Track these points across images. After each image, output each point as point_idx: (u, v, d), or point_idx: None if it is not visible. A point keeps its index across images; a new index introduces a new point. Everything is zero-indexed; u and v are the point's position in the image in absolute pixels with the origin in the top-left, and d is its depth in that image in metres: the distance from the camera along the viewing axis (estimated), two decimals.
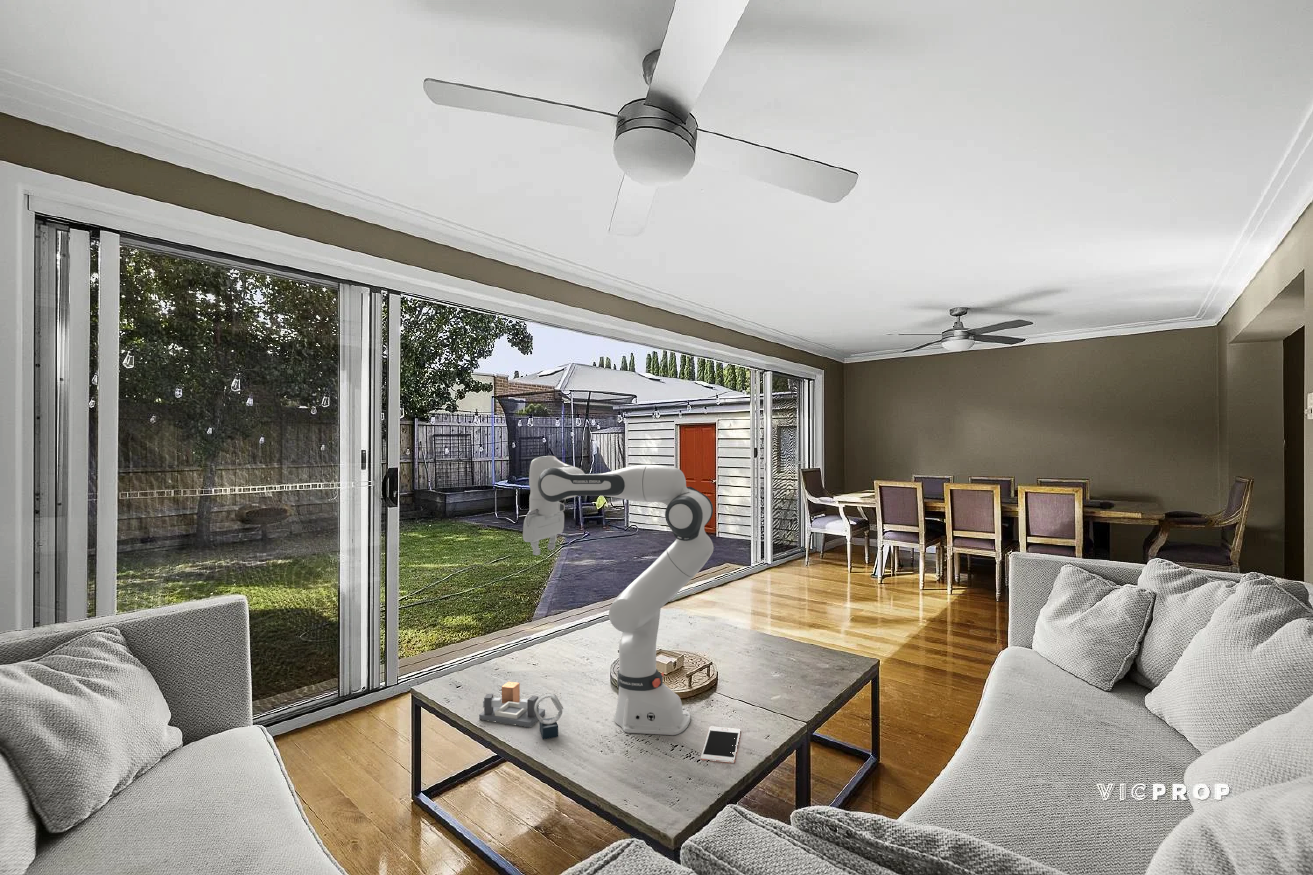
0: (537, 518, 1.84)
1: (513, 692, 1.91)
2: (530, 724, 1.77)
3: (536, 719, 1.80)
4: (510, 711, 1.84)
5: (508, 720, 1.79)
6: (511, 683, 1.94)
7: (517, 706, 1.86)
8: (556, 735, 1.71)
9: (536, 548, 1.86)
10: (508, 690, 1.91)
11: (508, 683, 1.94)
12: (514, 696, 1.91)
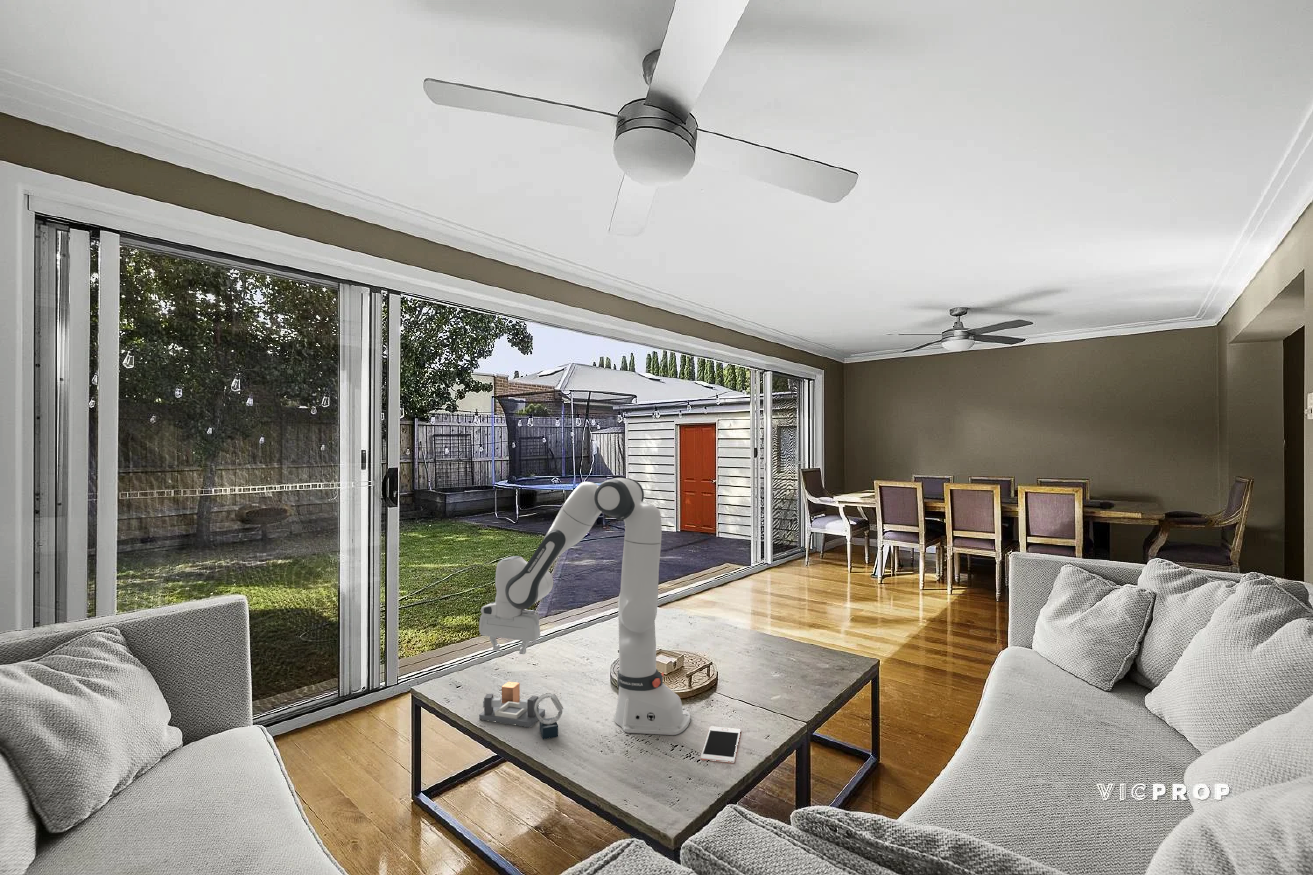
0: None
1: (513, 692, 1.91)
2: (530, 724, 1.77)
3: (536, 719, 1.80)
4: (510, 711, 1.84)
5: (508, 720, 1.79)
6: (511, 683, 1.94)
7: (517, 706, 1.86)
8: (556, 735, 1.71)
9: (526, 646, 1.92)
10: (508, 690, 1.91)
11: (508, 683, 1.94)
12: (514, 696, 1.91)
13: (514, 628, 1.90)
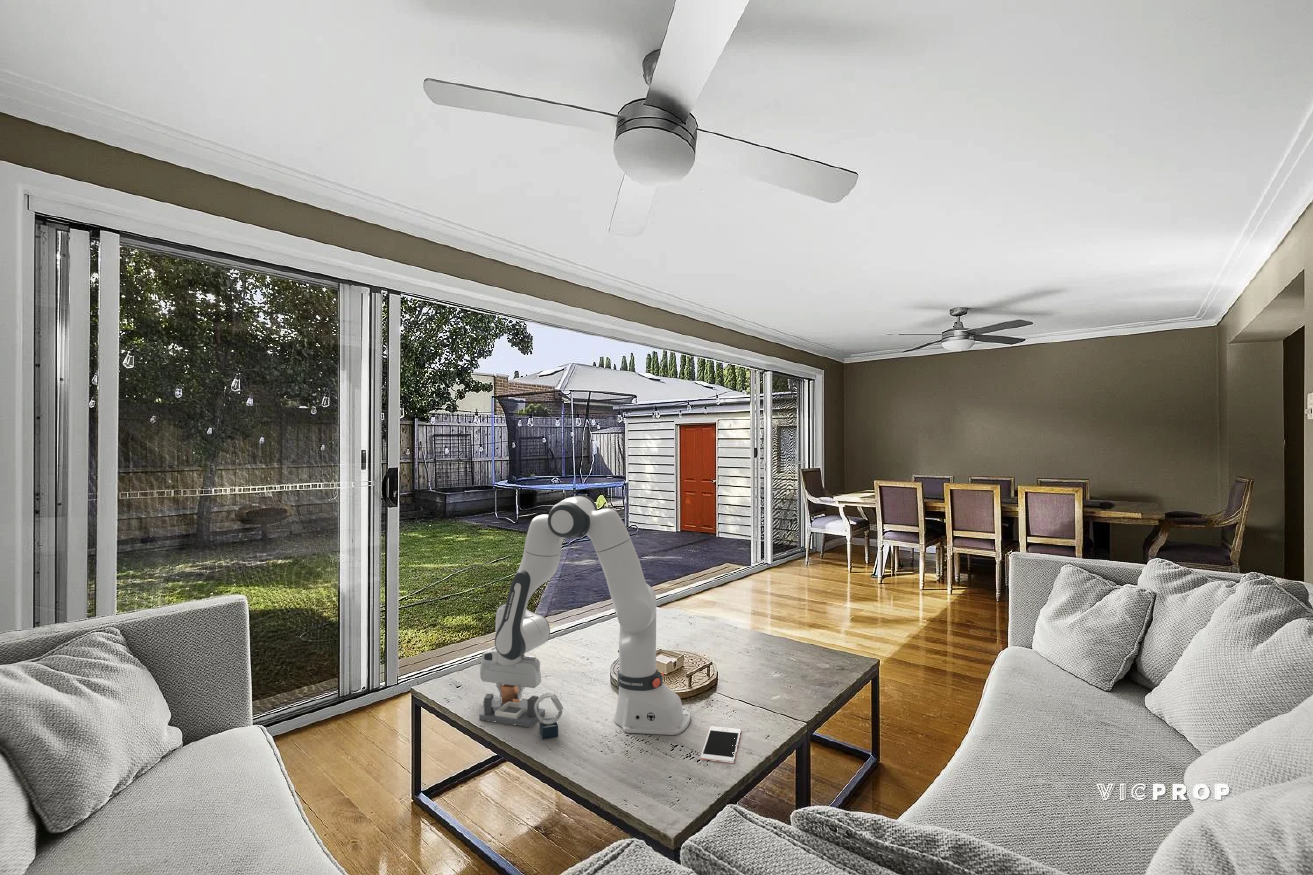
0: None
1: (513, 692, 1.91)
2: (530, 724, 1.77)
3: (536, 719, 1.80)
4: (510, 711, 1.84)
5: (508, 720, 1.79)
6: None
7: (517, 706, 1.86)
8: (556, 735, 1.71)
9: (521, 691, 1.92)
10: (508, 689, 1.91)
11: None
12: (514, 696, 1.91)
13: (514, 674, 1.90)
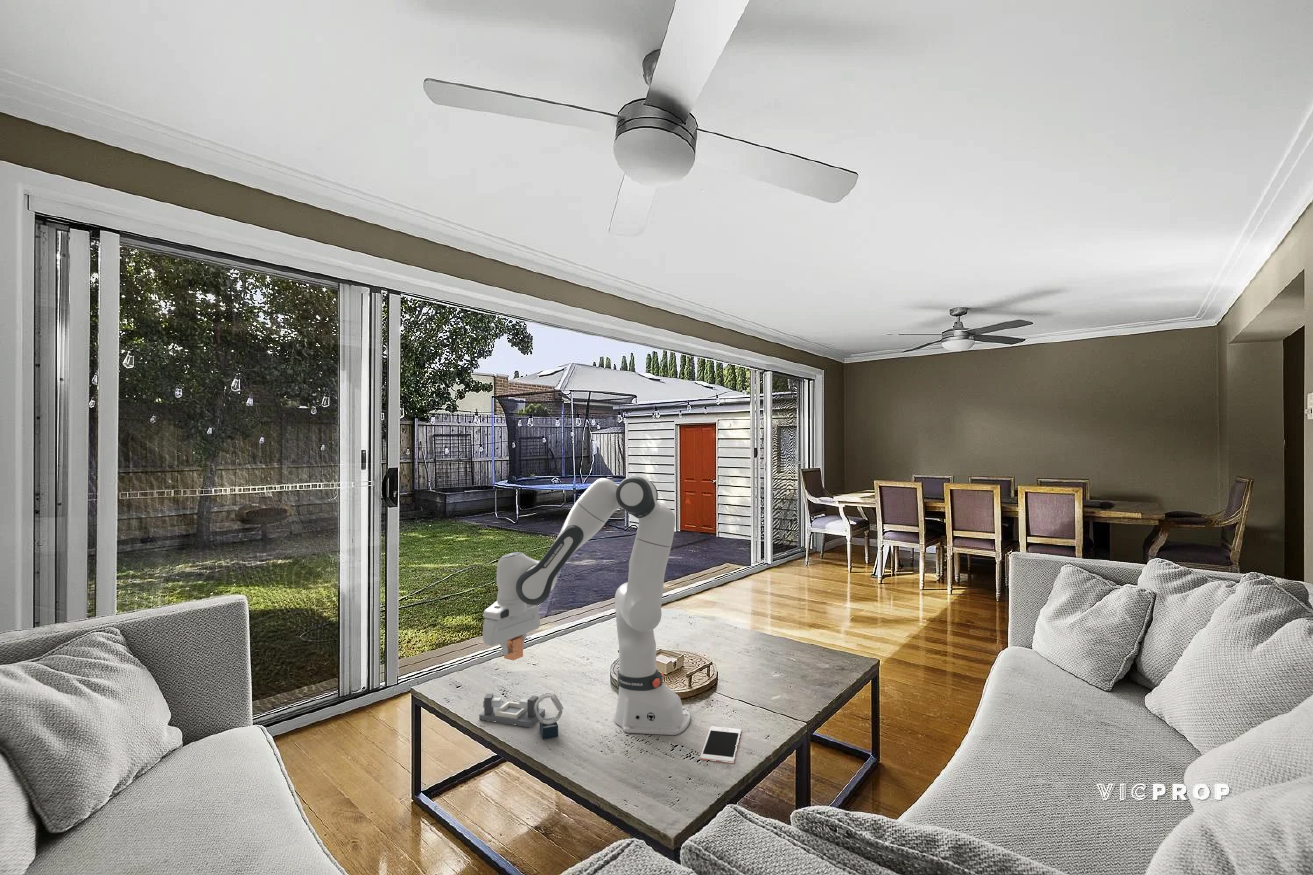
0: None
1: None
2: (530, 724, 1.77)
3: (536, 719, 1.80)
4: (510, 711, 1.84)
5: (508, 720, 1.79)
6: None
7: (517, 706, 1.86)
8: (556, 735, 1.71)
9: None
10: (519, 640, 1.86)
11: None
12: None
13: (523, 622, 1.88)
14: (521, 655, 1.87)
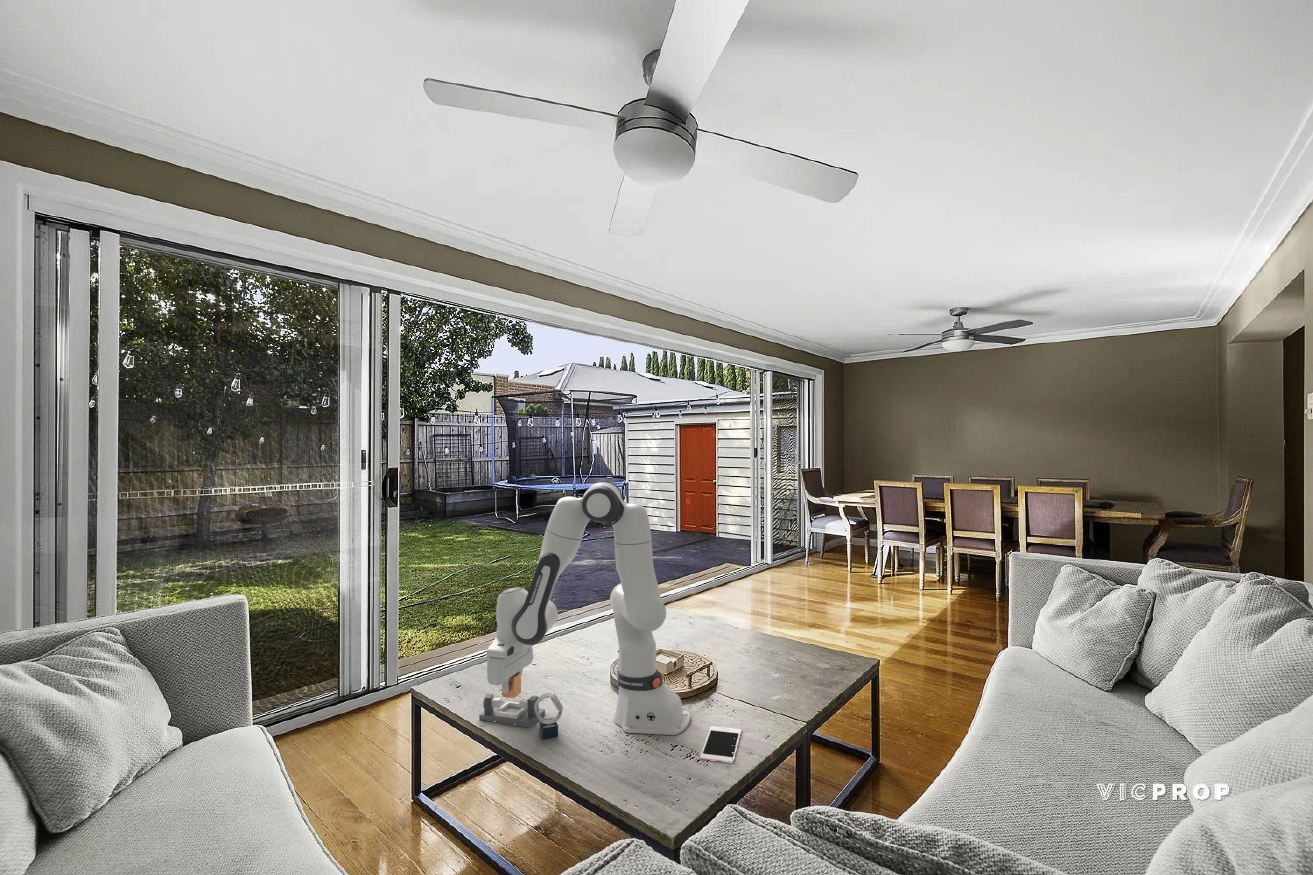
0: None
1: None
2: (530, 724, 1.77)
3: (536, 719, 1.80)
4: (510, 711, 1.84)
5: (508, 720, 1.79)
6: None
7: (517, 706, 1.86)
8: (556, 735, 1.71)
9: None
10: (518, 677, 1.83)
11: None
12: None
13: (521, 658, 1.85)
14: (519, 691, 1.84)
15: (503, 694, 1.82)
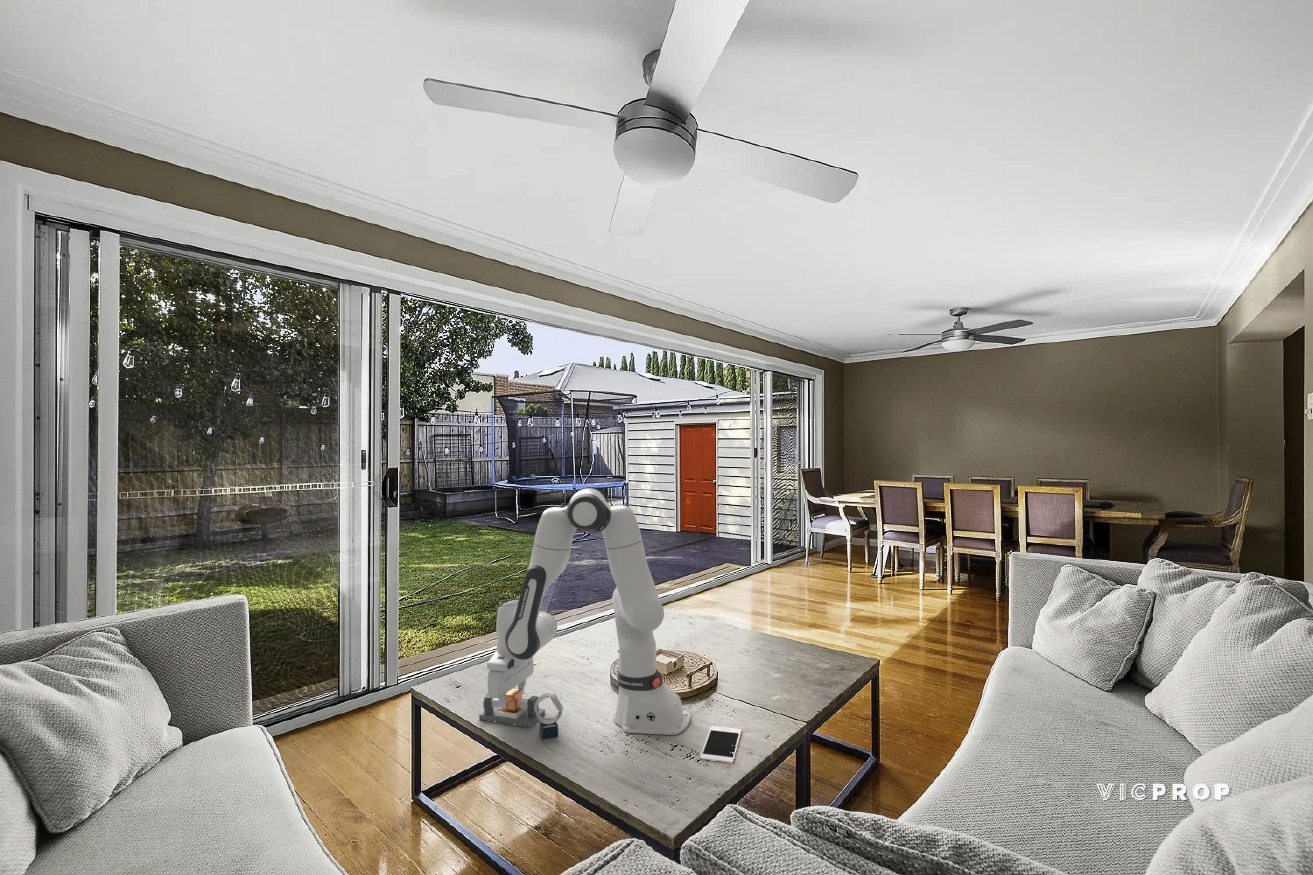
0: None
1: None
2: (530, 724, 1.77)
3: (536, 719, 1.80)
4: None
5: (508, 720, 1.79)
6: (509, 692, 1.83)
7: None
8: (556, 735, 1.71)
9: None
10: (519, 694, 1.83)
11: (508, 693, 1.83)
12: None
13: (521, 670, 1.86)
14: (520, 709, 1.84)
15: None
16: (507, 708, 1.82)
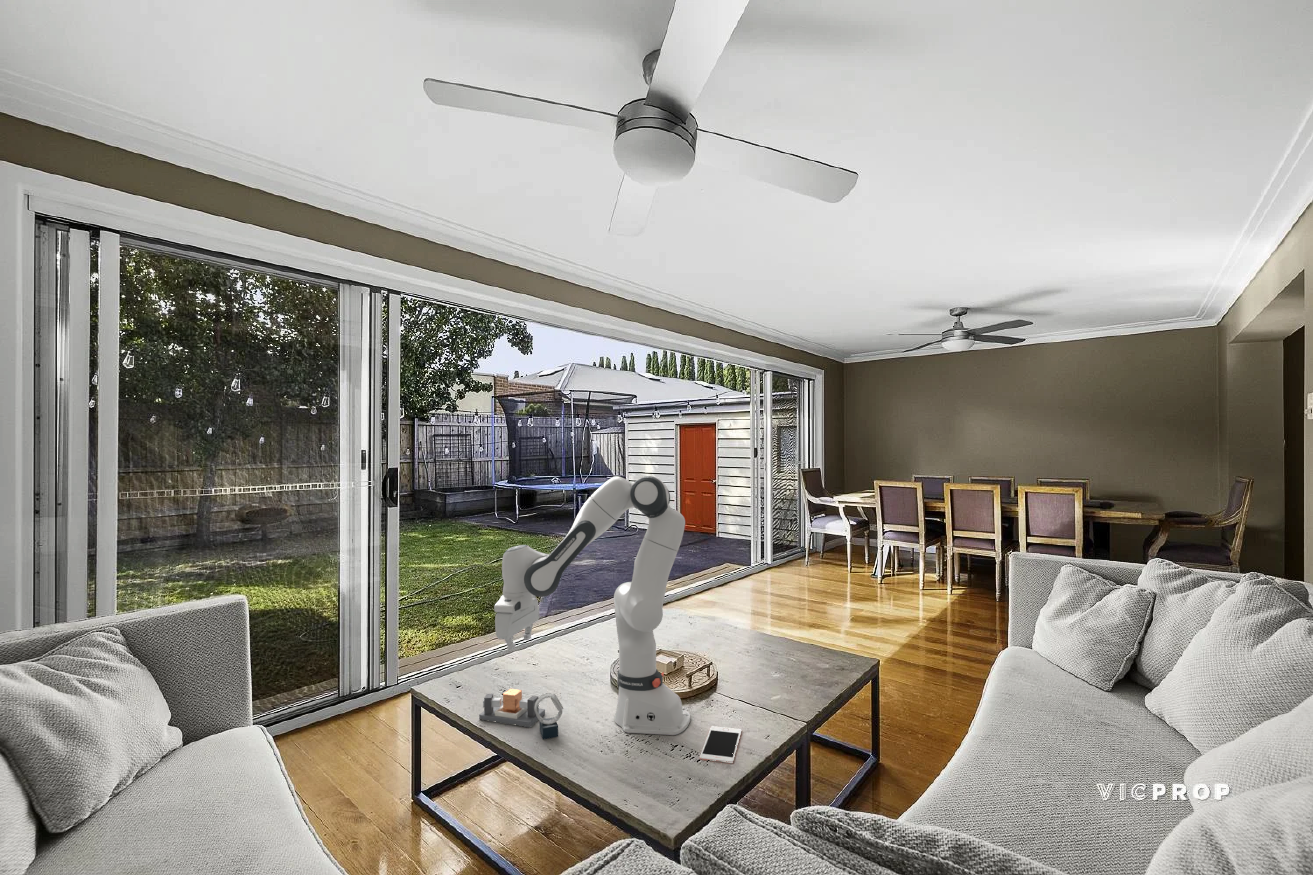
0: None
1: None
2: (530, 724, 1.77)
3: (536, 719, 1.80)
4: None
5: (508, 720, 1.79)
6: (509, 692, 1.83)
7: None
8: (556, 735, 1.71)
9: None
10: (519, 694, 1.83)
11: (508, 693, 1.83)
12: None
13: (528, 615, 1.88)
14: (520, 709, 1.84)
15: None
16: (507, 708, 1.82)
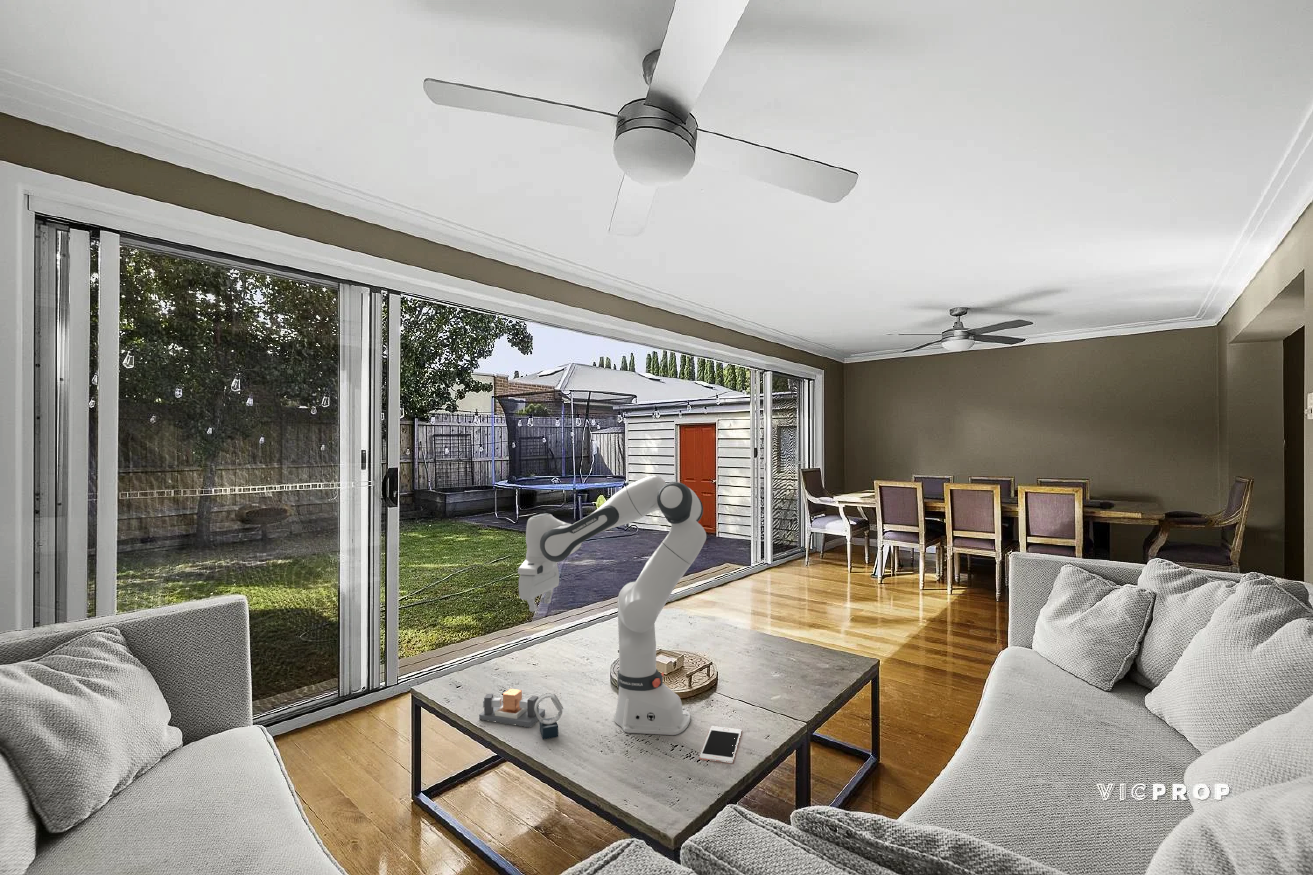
0: None
1: None
2: (530, 724, 1.77)
3: (536, 719, 1.80)
4: None
5: (508, 720, 1.79)
6: (509, 692, 1.83)
7: None
8: (556, 735, 1.71)
9: None
10: (519, 694, 1.83)
11: (508, 693, 1.83)
12: None
13: (549, 579, 1.99)
14: (520, 709, 1.84)
15: None
16: (507, 708, 1.82)
